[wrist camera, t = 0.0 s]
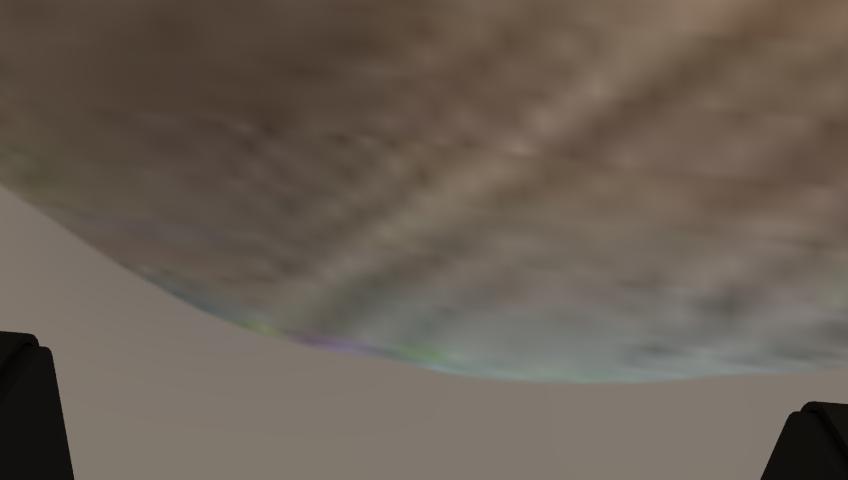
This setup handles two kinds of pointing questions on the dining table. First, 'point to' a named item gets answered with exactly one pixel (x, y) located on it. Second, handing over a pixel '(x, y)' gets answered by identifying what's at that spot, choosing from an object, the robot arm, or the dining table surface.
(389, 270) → the dining table surface
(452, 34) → the dining table surface
